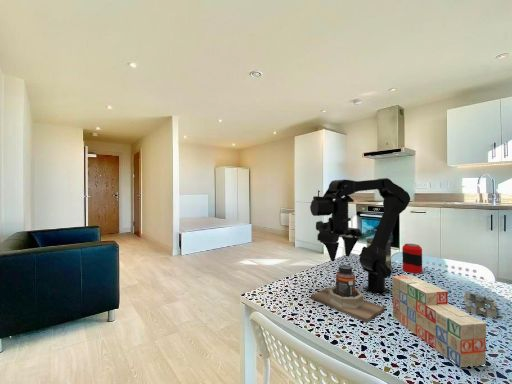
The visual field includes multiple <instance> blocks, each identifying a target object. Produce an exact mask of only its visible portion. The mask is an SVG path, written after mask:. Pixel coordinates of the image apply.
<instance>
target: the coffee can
mask: <svg viewBox="0 0 512 384" xmlns="http://www.w3.org/2000/svg"><path fill="white" fill-rule="evenodd" d="M373 238H374V237H372V238H366V239H365V241H366V247H368V246H369V245H371V243H372V240H373ZM391 250H392V240H390V239H389V240H388V243H387V246H386V248H385V254H386V262H385V265H386V266H387V267H388V268H389V269H390V270H391V271H392V251H391Z"/></svg>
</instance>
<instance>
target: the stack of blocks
mask: <svg viewBox="0 0 512 384" xmlns="http://www.w3.org/2000/svg"><path fill="white" fill-rule="evenodd" d="M391 279H392V281H391V282H392V288H391V289H392V317H393V318H394V319H396V321H398V322H399V323H400V324H401V325H403V326H404V327H406V329H408V330H409V331H410V332H412V334H414V335H416V336H417V337H418V338H420V339H422V341H424V342H425V343H427V344H428V346H430V347H432V348H435V349H434V350H436V351H437V353H439V352H440V353H439V354H440V355H442V354H443V355H444V358H446V357H447V358H449V359H451V360H453V361H454V362H455V363H456V364H457V365H458V366H460V367H468V366H479V365H484V364H486V365H487V359H486V358H487V356H486V352H487V344H486V343H487V340H486V338H487V323H486V322H485V321H482V320H481V319H478V318H476V317H475V316H472V314H469V313H468V312H466V311H464V310H462V309H459V308H457V307H456V306H453V305H451V304H448V303H449V299H448V291H447V290H445V289H443V288H440V287H439V286H436V285H434V284H432V283H430V282H427V281H426V280H424V279H423V280H422V279H420V278H418V277H417V276H415V275H412V274H411V275H409V274H407V275H405V274H404V275H395V276H394V275H392V278H391ZM443 355H442V356H443ZM447 358H446V359H447ZM458 366H457V367H458Z"/></svg>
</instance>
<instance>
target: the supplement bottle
mask: <svg viewBox="0 0 512 384" xmlns="http://www.w3.org/2000/svg"><path fill="white" fill-rule="evenodd" d="M335 286H336V295H339V296H341V297H352V298H354V297H355V289H356V275H355V274H354V272H353V267H352V266H351V265H348V264H347V265H346V264H340V265H338V271H337V272H336V273H335Z"/></svg>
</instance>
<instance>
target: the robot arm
mask: <svg viewBox="0 0 512 384" xmlns="http://www.w3.org/2000/svg"><path fill="white" fill-rule="evenodd" d="M372 190H373V191H374V190H378V194H379V196H380V197H382V199H383V201H382V205H383V213H382V216H381V218H380V220H379V223H378V225H377V228H376V230H375V233H374V235H373V237H372V238H373V240H372V243H371V245H369V246H368V247H367V246H363V247H362V248H361V252H360V254H359V255H358V257H359V263H360V266H361V267H362V269H363V271H364V272H367V286H365V287H364V288H363V289H364V290H365V291H369V292H372V293H375V294H378V295H382V296H383V294H385V293H387V292H389V291H390V288H388V287H386V279H388V278H389V277H390V278H391V275H392V269H391V270H390V269H389V268H388V267H387V266H386V265H385V262H386V254H385V248H386V246H387V243H388V240H390V238H391V234H393V233H392V232H393V230H394V228H395V225H396V222H397V219H398V217H399V215H400V214H401V213H402V212H404V211H405V210H406V209H407V207H408V206H409V203H410V201H411V197H410V194H409V192H408V191H406V190H405V189H404V188H402V186H400V185H397V184H396V183H394V182H393V181H392V180H391V179H390V178H388V177H385V178H384V177H383V178H377V179H369V180H367V179H366V180H352V179H335V180H332V181H330V183H329V185H328V188H327V189H326V190H325V192H324V194H323V196H319V195H317V196H315V195H314V196H313V197H312V201H311V202H310V206H309V210H310V212H311V215H312V216H314V217H317V216H319V217H321V216H331V217H329V218H328V221H326V222H324V221H322V220H319V221H316V222H315V230H316V231H318V233H317V241H319V242H320V243H321V244H323V245H324V246H325V248H326V251H327V253H328V256H329V258H330V261H331V262H335V259H336V257H337V253H338V250H339V245H340V242H338V241H339V240H340V238H341V239H342V240H343V244H344V253H345V256H346V257H347V258H348V257H350V256H351V253H352V252H353V249H354V248H355V245H356V244H357V242H358V240H359V239H360V237H362V230H361V229H360V228H357V227H349V225H350V224H349V223H350V222H351V221H352V218H351V217H349V203H354V201H355V200H354V199H353V198H352V197H351V196H350V195H353V194H355V193H357V192H364V191H372Z"/></svg>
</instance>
